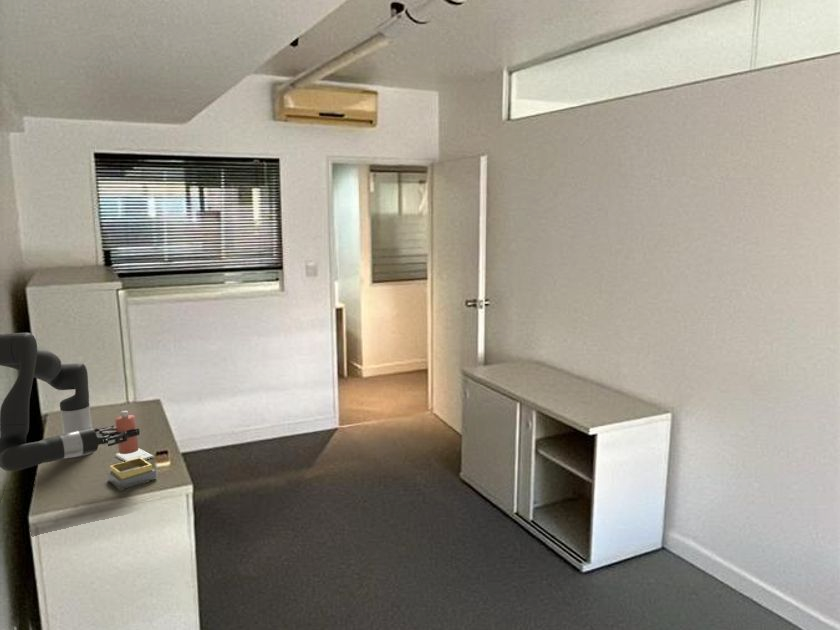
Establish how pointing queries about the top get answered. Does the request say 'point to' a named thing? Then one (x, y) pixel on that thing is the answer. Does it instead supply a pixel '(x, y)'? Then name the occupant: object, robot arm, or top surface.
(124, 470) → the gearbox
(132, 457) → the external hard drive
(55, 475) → the top surface
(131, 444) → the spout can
